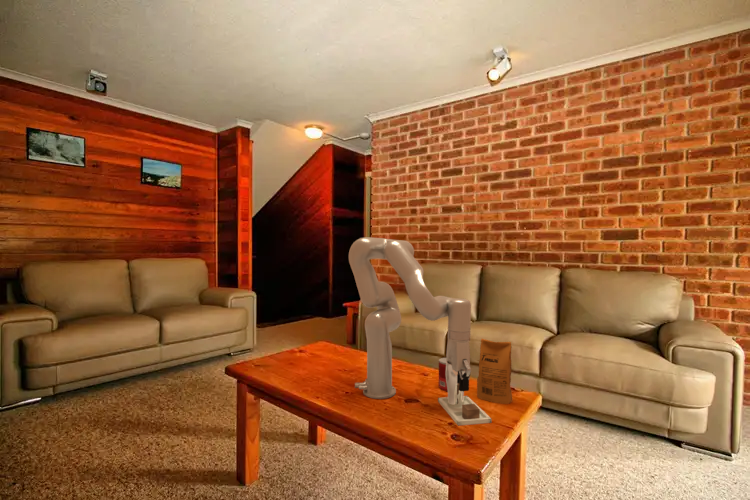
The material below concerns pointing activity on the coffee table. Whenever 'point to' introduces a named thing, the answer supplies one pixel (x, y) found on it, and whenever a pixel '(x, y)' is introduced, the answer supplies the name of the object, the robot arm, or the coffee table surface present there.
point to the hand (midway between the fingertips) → (458, 385)
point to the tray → (457, 413)
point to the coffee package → (494, 372)
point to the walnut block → (470, 411)
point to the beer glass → (454, 388)
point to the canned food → (442, 374)
